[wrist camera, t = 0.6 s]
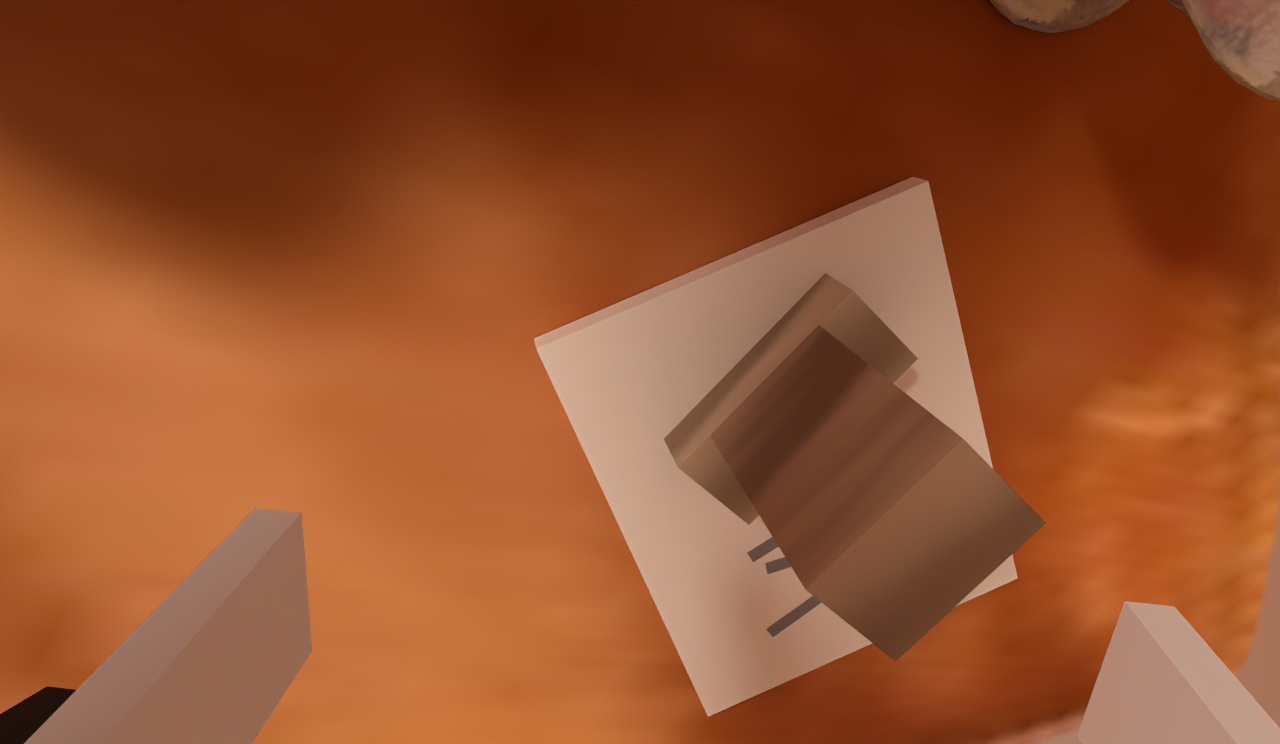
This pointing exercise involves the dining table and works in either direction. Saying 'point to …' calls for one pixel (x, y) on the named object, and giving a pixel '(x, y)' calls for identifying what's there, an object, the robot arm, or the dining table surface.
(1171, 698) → the robot arm
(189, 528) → the dining table surface
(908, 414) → the block
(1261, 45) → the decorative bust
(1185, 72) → the dining table surface
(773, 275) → the marked board
